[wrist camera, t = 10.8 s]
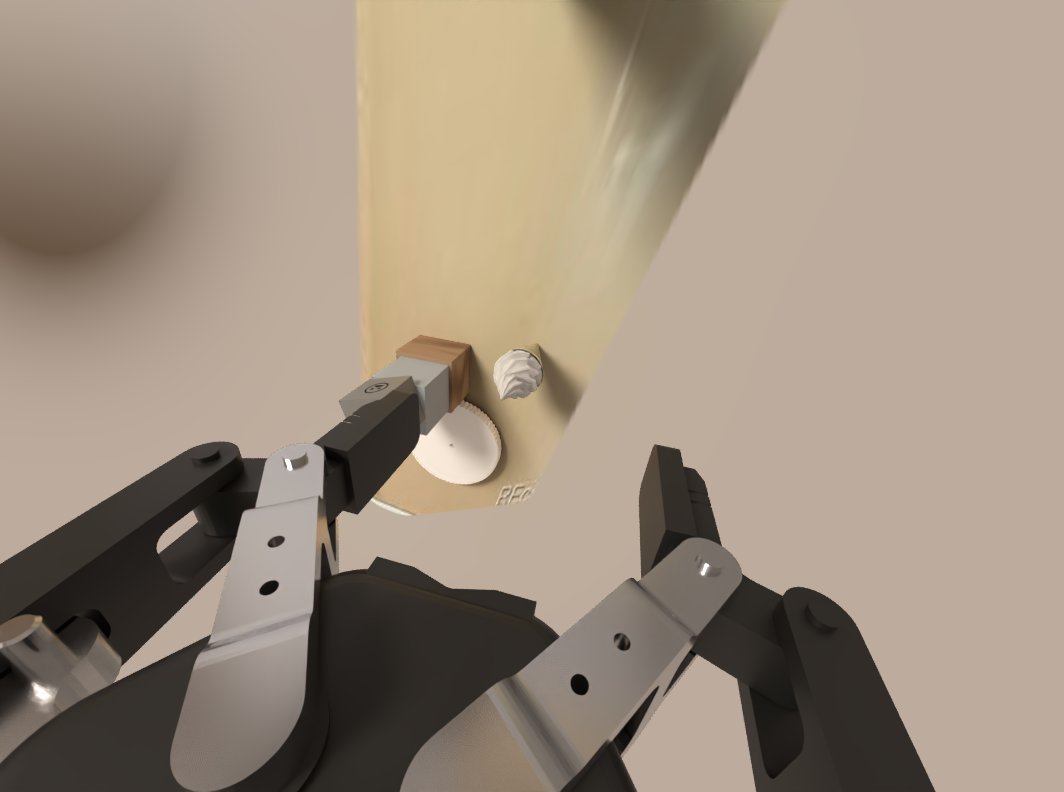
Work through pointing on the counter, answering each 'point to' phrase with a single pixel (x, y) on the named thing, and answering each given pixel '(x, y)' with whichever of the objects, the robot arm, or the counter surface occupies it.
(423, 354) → the tower base
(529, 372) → the ice cream cone
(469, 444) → the plastic lid
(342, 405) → the dice cube
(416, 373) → the tower top
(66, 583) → the robot arm
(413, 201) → the counter surface
